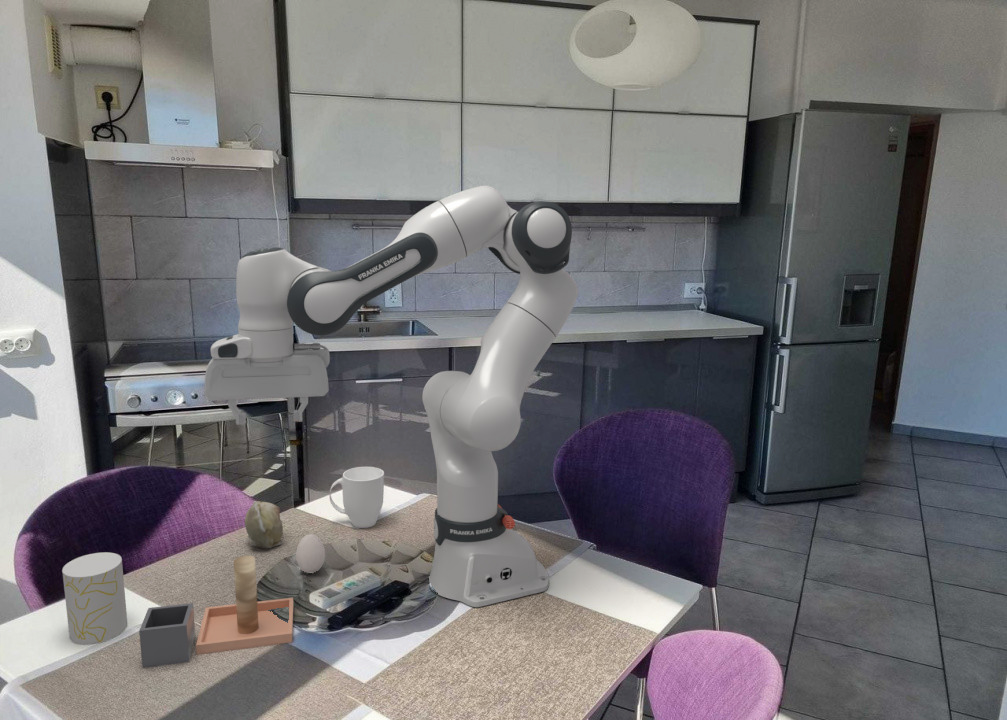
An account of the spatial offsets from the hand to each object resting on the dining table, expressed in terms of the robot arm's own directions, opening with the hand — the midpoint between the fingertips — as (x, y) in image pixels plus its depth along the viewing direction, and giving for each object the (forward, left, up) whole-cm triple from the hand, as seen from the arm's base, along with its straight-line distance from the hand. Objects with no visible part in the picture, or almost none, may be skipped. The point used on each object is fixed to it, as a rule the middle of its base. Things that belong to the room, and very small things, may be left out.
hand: (269, 422), depth 124 cm
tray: (+4, +14, -31) cm, 34 cm away
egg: (-6, -4, -31) cm, 32 cm away
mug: (-16, -24, -31) cm, 43 cm away
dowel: (+4, +14, -30) cm, 34 cm away
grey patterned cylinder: (+27, +9, -31) cm, 42 cm away
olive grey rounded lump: (+3, -19, -31) cm, 37 cm away
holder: (+15, +18, -31) cm, 39 cm away
